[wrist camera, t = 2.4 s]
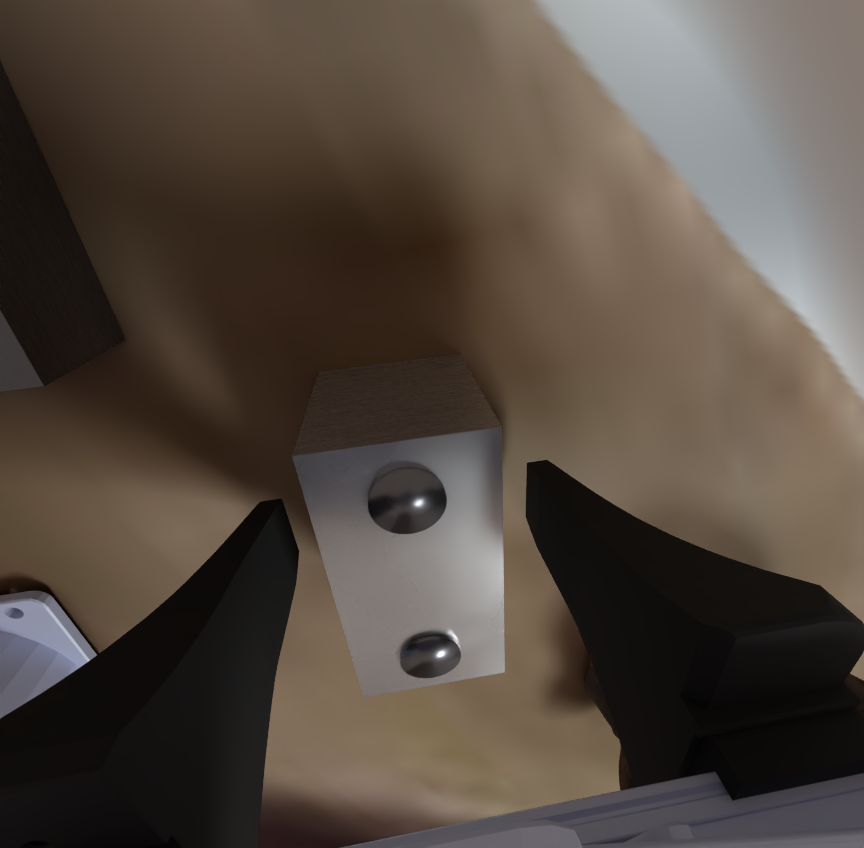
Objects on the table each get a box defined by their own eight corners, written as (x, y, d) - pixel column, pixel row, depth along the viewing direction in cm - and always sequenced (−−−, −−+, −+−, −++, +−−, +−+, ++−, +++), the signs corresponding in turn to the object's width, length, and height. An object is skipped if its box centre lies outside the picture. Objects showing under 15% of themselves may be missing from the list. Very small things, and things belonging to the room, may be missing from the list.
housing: (472, 554, 16) (506, 677, 12) (365, 571, 16) (363, 703, 12) (459, 351, 12) (503, 430, 8) (319, 370, 12) (290, 460, 8)
